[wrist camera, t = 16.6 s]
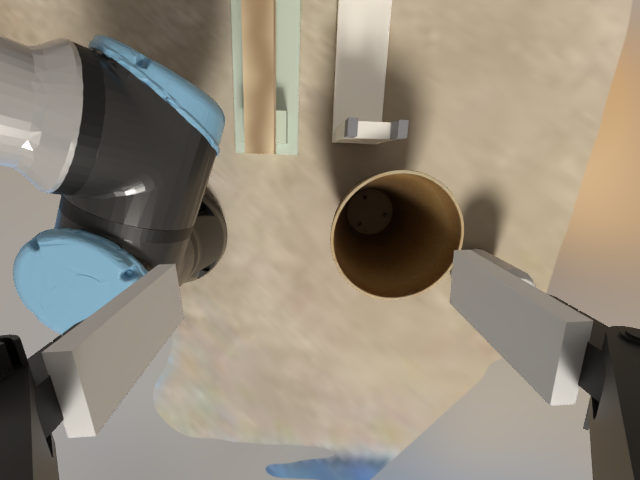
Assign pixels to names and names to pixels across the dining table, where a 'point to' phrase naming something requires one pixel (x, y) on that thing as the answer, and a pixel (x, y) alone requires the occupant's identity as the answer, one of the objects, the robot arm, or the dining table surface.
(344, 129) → the stand
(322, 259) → the dining table surface
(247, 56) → the rail
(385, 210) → the plant pot
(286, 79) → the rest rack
